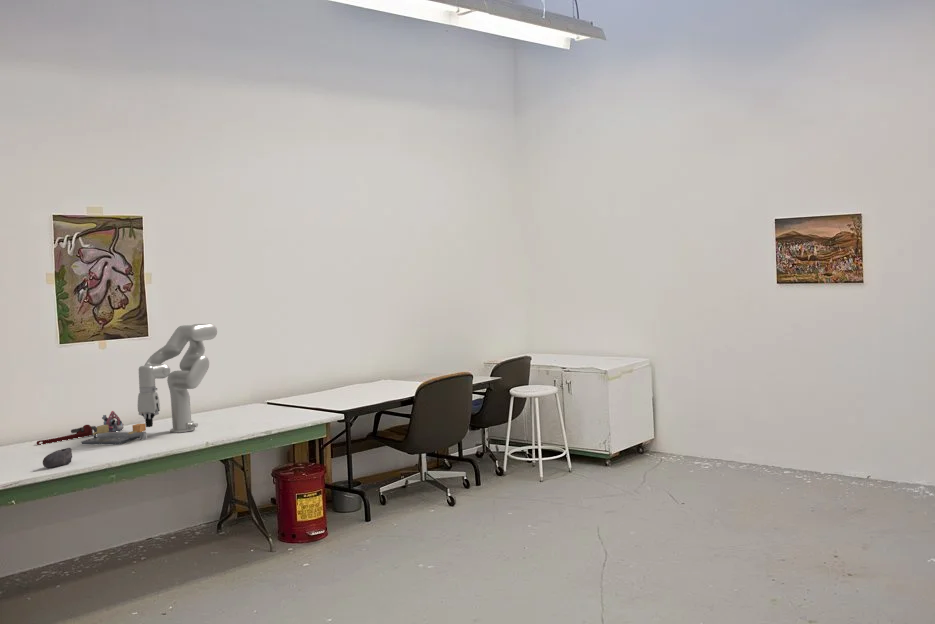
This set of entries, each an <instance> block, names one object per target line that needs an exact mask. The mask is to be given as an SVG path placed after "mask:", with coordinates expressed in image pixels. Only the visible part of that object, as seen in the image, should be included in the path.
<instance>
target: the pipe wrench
mask: <svg viewBox="0 0 935 624" xmlns="http://www.w3.org/2000/svg"><path fill="white" fill-rule="evenodd" d="M94 432H97V426H95V425H92V426H91V425H90V424H84V425H83V426H81V427H78V428H73V429H71V430H70V433H71V434H68V435H64V436H58V437H54V438H47V439H41V440H37V441H36V445H37V446H42V445H41V444H43V445H47V444H46V443H49V444H52V442H54V443H58V442H57V441H60V442H63V441H62V440H66V441H69V440H68V439H71V440H74V439H73V438H77V439H79V438H78V437H82V438H85V437H84V436H88V437H90V436H89V435H93V433H94Z"/></svg>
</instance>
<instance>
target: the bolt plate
mask: <svg viewBox="0 0 935 624" xmlns="http://www.w3.org/2000/svg"><path fill="white" fill-rule="evenodd" d="M96 427H97V432H94V431H93V436H92V438H88V439H86V440H82V441H80V442H81V444H113V445H124V444H126V443H129V442H132V441H134V440H138V439H140V440H142V441H143V440H146V439H147V432H146V431H142V432H136V433H132V434H131V438H129V434H128V433H129V432H130V431H119V432H109V427H108V425H104V424H102V425H101V424H100V425H97V426H96ZM96 434H97V435H96Z"/></svg>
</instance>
